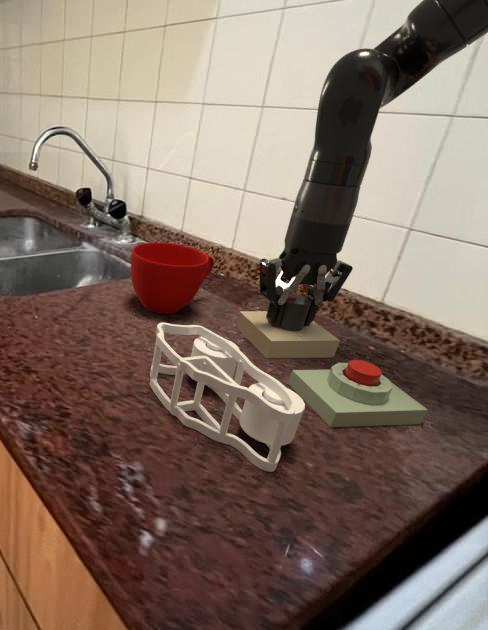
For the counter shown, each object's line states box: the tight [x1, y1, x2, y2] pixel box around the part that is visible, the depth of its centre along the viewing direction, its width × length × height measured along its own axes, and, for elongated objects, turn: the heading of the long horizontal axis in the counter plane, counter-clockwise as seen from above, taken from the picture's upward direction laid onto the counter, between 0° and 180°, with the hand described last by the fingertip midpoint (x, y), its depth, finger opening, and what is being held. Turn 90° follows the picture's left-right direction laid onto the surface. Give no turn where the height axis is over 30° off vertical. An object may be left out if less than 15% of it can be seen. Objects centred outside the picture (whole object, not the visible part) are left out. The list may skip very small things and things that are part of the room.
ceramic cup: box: [130, 242, 215, 315], centre depth 80 cm, size 13×17×10 cm
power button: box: [344, 359, 383, 387], centre depth 56 cm, size 4×4×2 cm
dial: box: [277, 292, 311, 331], centre depth 69 cm, size 4×4×5 cm
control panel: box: [235, 310, 341, 359], centre depth 71 cm, size 11×10×3 cm
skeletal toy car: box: [149, 321, 306, 473], centre depth 52 cm, size 20×11×7 cm, turn 17°
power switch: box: [287, 362, 428, 428], centre depth 57 cm, size 12×9×4 cm
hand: (288, 323), depth 70 cm, fingers closed on dial, 4 cm apart
